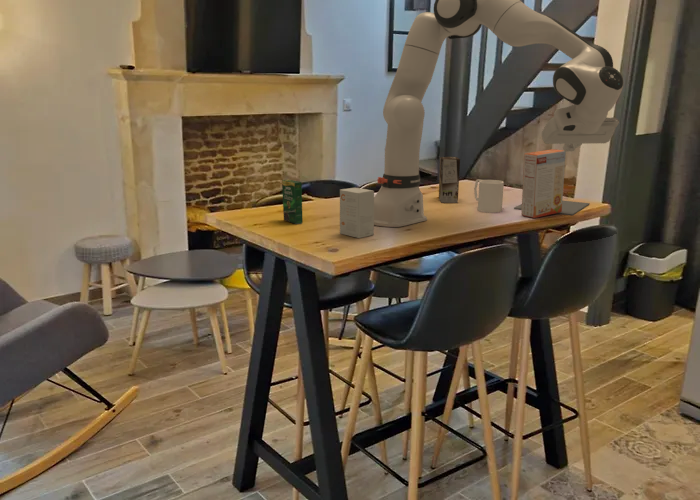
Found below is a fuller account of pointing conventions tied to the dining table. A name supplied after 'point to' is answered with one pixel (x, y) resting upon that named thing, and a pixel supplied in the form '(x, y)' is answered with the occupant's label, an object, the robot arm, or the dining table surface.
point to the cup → (489, 195)
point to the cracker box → (543, 183)
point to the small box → (357, 212)
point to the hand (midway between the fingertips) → (567, 149)
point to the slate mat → (567, 207)
